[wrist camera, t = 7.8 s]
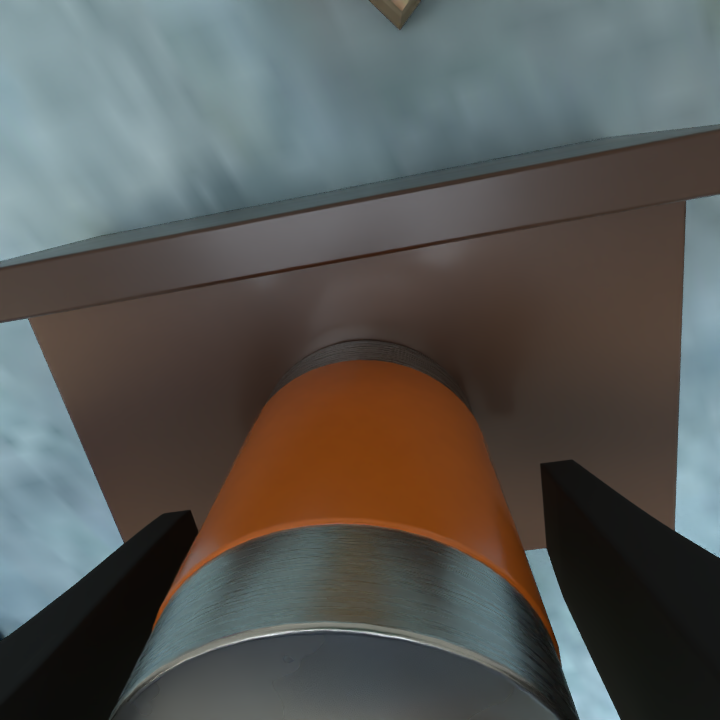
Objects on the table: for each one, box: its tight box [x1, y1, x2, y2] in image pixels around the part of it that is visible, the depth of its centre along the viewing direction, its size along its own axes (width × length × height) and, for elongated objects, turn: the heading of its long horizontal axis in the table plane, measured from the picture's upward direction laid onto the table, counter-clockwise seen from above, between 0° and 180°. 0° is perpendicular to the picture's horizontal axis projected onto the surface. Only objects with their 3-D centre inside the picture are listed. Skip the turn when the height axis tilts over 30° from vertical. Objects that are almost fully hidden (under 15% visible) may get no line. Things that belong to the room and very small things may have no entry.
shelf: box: [0, 124, 720, 551], centre depth 13 cm, size 10×15×6 cm, turn 101°
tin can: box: [108, 340, 580, 720], centre depth 9 cm, size 6×6×8 cm
